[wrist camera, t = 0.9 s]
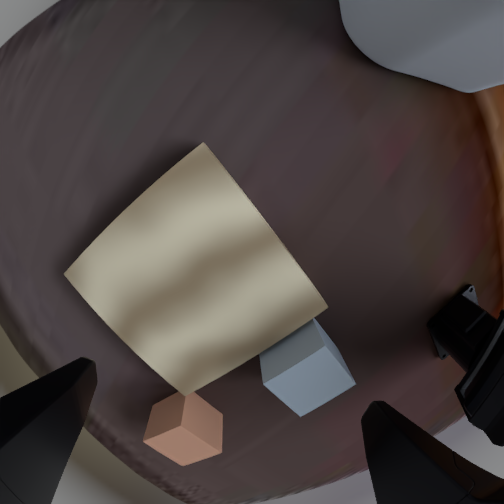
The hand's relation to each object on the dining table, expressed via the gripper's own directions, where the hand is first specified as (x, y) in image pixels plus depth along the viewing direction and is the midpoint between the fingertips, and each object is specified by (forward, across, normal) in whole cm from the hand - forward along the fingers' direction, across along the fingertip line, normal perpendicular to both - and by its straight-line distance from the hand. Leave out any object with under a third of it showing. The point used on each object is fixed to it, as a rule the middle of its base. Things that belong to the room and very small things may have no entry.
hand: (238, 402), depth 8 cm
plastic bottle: (+14, -10, -25) cm, 30 cm away
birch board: (+14, +3, +2) cm, 14 cm away
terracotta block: (+14, +2, +16) cm, 22 cm away
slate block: (+14, -7, +7) cm, 17 cm away
